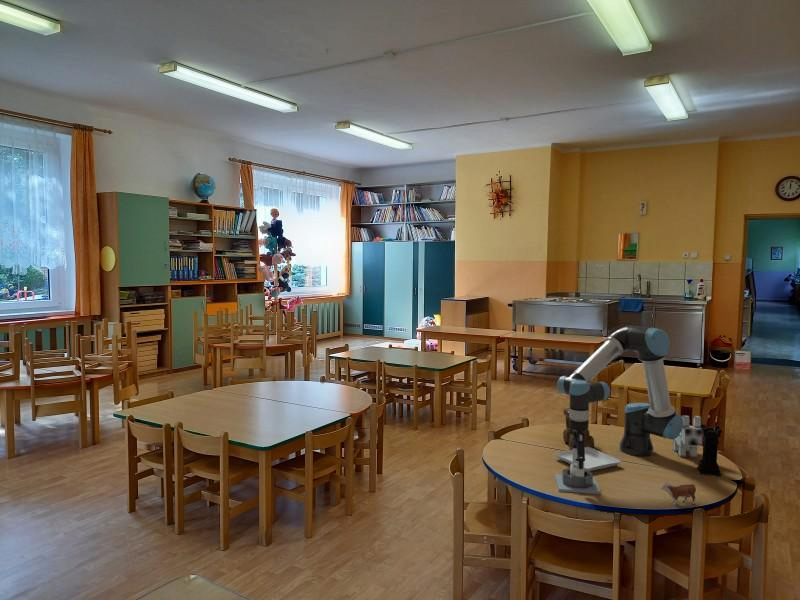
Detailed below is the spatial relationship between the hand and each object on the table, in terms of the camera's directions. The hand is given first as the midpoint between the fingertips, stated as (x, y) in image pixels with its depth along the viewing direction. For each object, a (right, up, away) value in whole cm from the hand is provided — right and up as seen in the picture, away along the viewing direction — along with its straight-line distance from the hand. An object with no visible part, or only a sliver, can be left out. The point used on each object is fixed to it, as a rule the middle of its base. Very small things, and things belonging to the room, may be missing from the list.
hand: (577, 469), depth 236 cm
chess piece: (+62, -6, +16) cm, 64 cm away
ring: (0, -5, 0) cm, 5 cm away
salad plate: (+12, -5, +26) cm, 29 cm away
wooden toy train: (+15, -3, +49) cm, 52 cm away
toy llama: (+63, -4, +38) cm, 73 cm away
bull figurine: (+33, -8, -17) cm, 38 cm away
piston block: (0, -6, 0) cm, 6 cm away
